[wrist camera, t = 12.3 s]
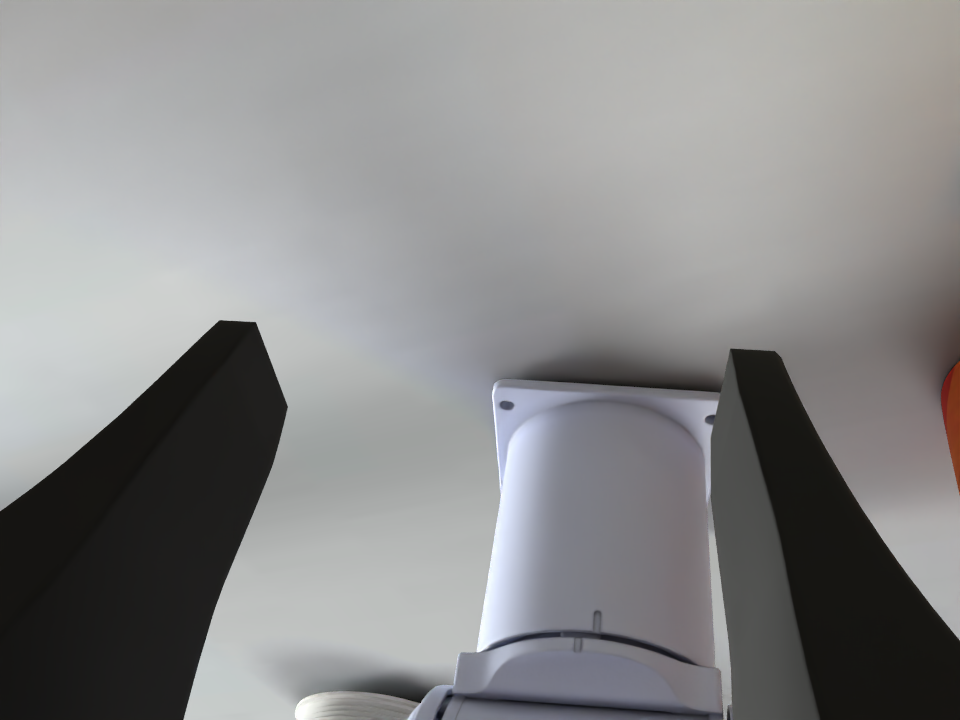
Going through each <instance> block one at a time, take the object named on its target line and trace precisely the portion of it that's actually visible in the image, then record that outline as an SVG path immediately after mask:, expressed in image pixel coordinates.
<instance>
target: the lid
mask: <svg viewBox="0 0 960 720" xmlns="http://www.w3.org/2000/svg"><path fill="white" fill-rule="evenodd" d="M419 704H420V703H417V702H414V701H410V700H406V699H402V698H398V697H393V696H388V695H382V694H376V693H368V692H356V691H334V692H324V693H318V694H314V695H311V696H308V697H306V698H304V699H303V700H301V701H300V702H299V703H298V705H297V707H296V711H295V716H296V719H297V720H407V719H408V718H409V716H410V714H411V713H412V712H413V710H414V709H415V708H416V707H417V706H418V705H419Z"/></svg>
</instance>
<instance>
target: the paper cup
mask: <svg viewBox="0 0 960 720" xmlns="http://www.w3.org/2000/svg"><path fill="white" fill-rule="evenodd" d="M941 405H942V412H943V418H944V424H945V429H946V434H947V439H948V444H949V448H950V453H951V458H952V463H953V467H954V472H955V476H956V481H957V485H958V490H959V494H960V361H959V362H958V363H957V364H956V365H955V366H954V367H953V368H952V370H951V371H950V372H949V374H948V376H947V377H946V379H945V381H944V384H943V387H942V392H941Z"/></svg>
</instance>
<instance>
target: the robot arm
mask: <svg viewBox="0 0 960 720" xmlns="http://www.w3.org/2000/svg"><path fill="white" fill-rule="evenodd" d="M492 397H493V409H494V420H495V432H496V443H497V455H498V466H499V478H500V489H501V500H500V506H499V513H498V519H497V525H496V532H495V538H494V544H493V551H492V557H491V564H490V570H489V576H488V583H487V589H486V595H485V602H484V608H483V614H482V621H481V627H480V634H479V640H478V646H477V652H475V653H465V652H462V653H460V654H459V655H458V660H457V666H456V672H455V678H454V683H453V685H440V686H436V687H434V688H433V689H432V690H430V691H429V692H428V694H427V695H426V696H425V697H424V699H423V700H422V702H421V703H420V704H419V705H418V706H417V707H416V708H415V709H414V710H413V712H412V713H411V714H410V716H409V718H408V719H407V720H723V703H722V685H721V671H720V670H719V669H718V668H715V651H714V632H713V612H712V593H711V574H710V554H709V535H708V516H707V505H708V501H709V497H710V493H711V504H712V512H713V520H714V529H715V537H716V545H717V553H718V561H719V568H720V576H721V584H722V592H723V600H724V608H725V615H726V623H727V631H728V639H729V650H730V662H731V681H732V705H728V709H727V720H960V640H959V639H958V638H957V637H956V636H955V634H954V633H953V632H952V631H951V629H950V628H949V627H948V626H947V625H946V623H945V622H944V621H943V620H942V618H941V617H940V616H939V615H938V614H937V612H936V611H935V610H934V609H933V607H932V606H931V605H930V604H929V602H928V601H927V600H926V598H925V597H924V596H923V594H922V593H921V592H920V591H919V589H918V588H917V587H916V585H915V584H914V583H913V581H912V580H911V579H910V578H909V576H908V575H907V573H906V572H905V571H904V569H903V568H902V567H901V565H900V564H899V562H898V561H897V560H896V558H895V557H894V556H893V554H892V553H891V551H890V550H889V548H888V547H887V546H886V544H885V543H884V541H883V540H882V538H881V537H880V535H879V534H878V532H877V531H876V529H875V528H874V526H873V525H872V523H871V522H870V520H869V519H868V517H867V516H866V514H865V513H864V511H863V510H862V508H861V507H860V505H859V503H858V502H857V500H856V499H855V497H854V495H853V494H852V492H851V491H850V489H849V487H848V486H847V484H846V482H845V481H844V479H843V477H842V475H841V474H840V472H839V470H838V469H837V467H836V465H835V464H834V462H833V460H832V458H831V457H830V455H829V453H828V452H827V450H826V448H825V446H824V444H823V443H822V441H821V439H820V437H819V435H818V434H817V432H816V430H815V428H814V426H813V424H812V422H811V420H810V418H809V416H808V414H807V412H806V411H805V409H804V407H803V405H802V402H801V400H800V398H799V396H798V394H797V392H796V390H795V388H794V386H793V384H792V381H791V379H790V377H789V375H788V373H787V370H786V368H785V366H784V363H783V361H782V358H781V357H780V356H779V355H778V354H777V353H776V352H775V351H762V350H744V349H730V353H729V358H728V362H727V366H726V371H725V375H724V380H723V384H722V389H721V393H718V392H705V391H690V390H674V389H659V388H643V387H628V386H612V385H597V384H581V383H566V382H550V381H535V380H519V379H501V380H498V381H497V382H496V383H495V384H494V387H493V392H492ZM505 400H507V401H511V402H507V401H505ZM287 408H288V406H287V403H286V401H285V398H284V395H283V393H282V390H281V388H280V385H279V382H278V380H277V377H276V374H275V372H274V369H273V366H272V364H271V361H270V358H269V356H268V353H267V350H266V348H265V345H264V343H263V340H262V337H261V335H260V332H259V329H258V327H257V324H256V322H241V321H223V320H220V321H218V322H217V323H216V324H215V325H214V326H213V327H212V328H211V329H210V330H209V331H208V332H206V333H205V334H204V335H203V336H202V337H201V338H200V339H199V340H198V341H197V342H196V343H195V344H194V345H193V346H192V347H191V348H190V349H189V350H188V351H187V352H186V353H185V354H184V355H182V356H181V357H180V358H179V359H178V360H177V361H176V362H175V363H174V364H173V365H172V366H171V367H170V368H169V369H168V370H167V371H166V372H165V373H164V374H163V375H162V376H161V377H160V378H159V379H158V380H157V381H155V382H154V383H153V384H152V385H151V386H150V387H149V388H148V389H147V390H146V391H145V392H144V393H143V394H142V395H141V396H139V397H138V398H137V399H136V400H135V401H134V402H133V403H132V404H131V405H130V406H129V407H128V408H127V409H126V410H124V411H123V412H122V413H121V414H120V415H119V416H118V417H117V418H116V419H115V420H113V421H112V422H111V423H110V424H109V425H108V426H106V427H105V428H104V429H103V430H102V431H101V432H99V433H98V434H97V435H96V436H95V437H94V438H93V439H91V440H90V441H89V442H88V443H87V444H86V445H84V446H83V447H82V448H81V449H80V450H79V451H77V452H76V453H75V454H74V455H73V456H72V457H70V458H69V459H68V460H67V461H66V462H65V463H63V464H62V465H61V466H60V467H58V468H57V469H56V470H55V471H53V472H52V473H51V474H50V475H48V476H47V477H46V478H45V479H43V480H42V481H41V482H39V483H38V484H37V485H35V486H34V487H33V488H32V489H30V490H29V491H27V492H26V493H25V494H23V495H22V496H21V497H19V498H18V499H17V500H15V501H14V502H12V503H11V504H10V505H8V506H7V507H6V508H4V509H3V510H2V511H0V720H183V719H184V715H185V711H186V708H187V704H188V700H189V696H190V693H191V689H192V685H193V681H194V678H195V674H196V670H197V667H198V663H199V660H200V656H201V653H202V650H203V646H204V643H205V640H206V636H207V633H208V629H209V626H210V623H211V619H212V616H213V613H214V610H215V607H216V604H217V601H218V599H219V596H220V593H221V590H222V588H223V585H224V582H225V580H226V578H227V575H228V573H229V570H230V568H231V566H232V563H233V561H234V558H235V556H236V554H237V551H238V549H239V546H240V544H241V541H242V539H243V537H244V534H245V532H246V529H247V527H248V525H249V522H250V520H251V517H252V515H253V513H254V510H255V508H256V505H257V503H258V500H259V498H260V495H261V493H262V490H263V488H264V486H265V483H266V481H267V478H268V476H269V473H270V470H271V468H272V465H273V462H274V459H275V455H276V451H277V448H278V444H279V441H280V437H281V433H282V429H283V425H284V420H285V416H286V412H287ZM710 415H715V416H710Z"/></svg>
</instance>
